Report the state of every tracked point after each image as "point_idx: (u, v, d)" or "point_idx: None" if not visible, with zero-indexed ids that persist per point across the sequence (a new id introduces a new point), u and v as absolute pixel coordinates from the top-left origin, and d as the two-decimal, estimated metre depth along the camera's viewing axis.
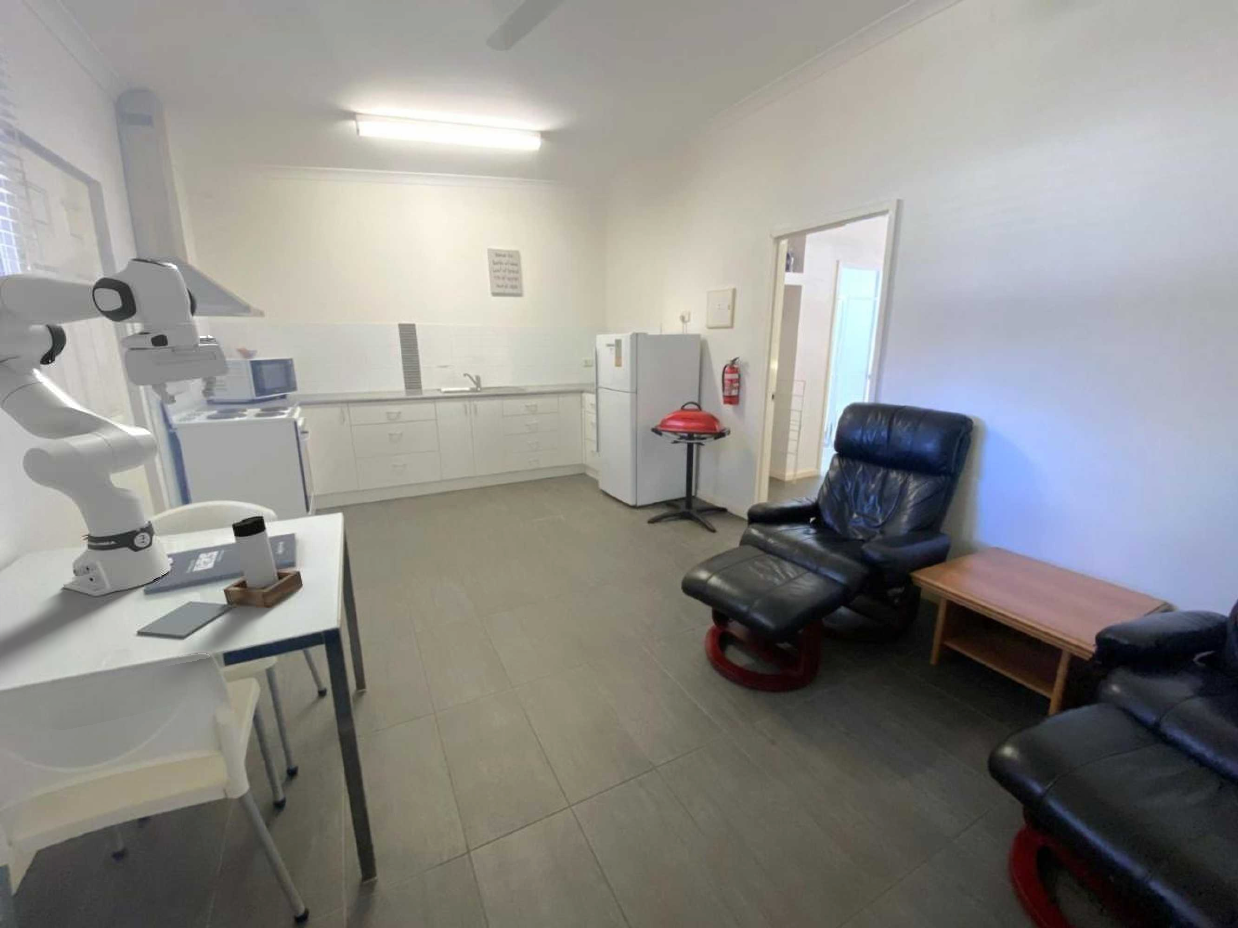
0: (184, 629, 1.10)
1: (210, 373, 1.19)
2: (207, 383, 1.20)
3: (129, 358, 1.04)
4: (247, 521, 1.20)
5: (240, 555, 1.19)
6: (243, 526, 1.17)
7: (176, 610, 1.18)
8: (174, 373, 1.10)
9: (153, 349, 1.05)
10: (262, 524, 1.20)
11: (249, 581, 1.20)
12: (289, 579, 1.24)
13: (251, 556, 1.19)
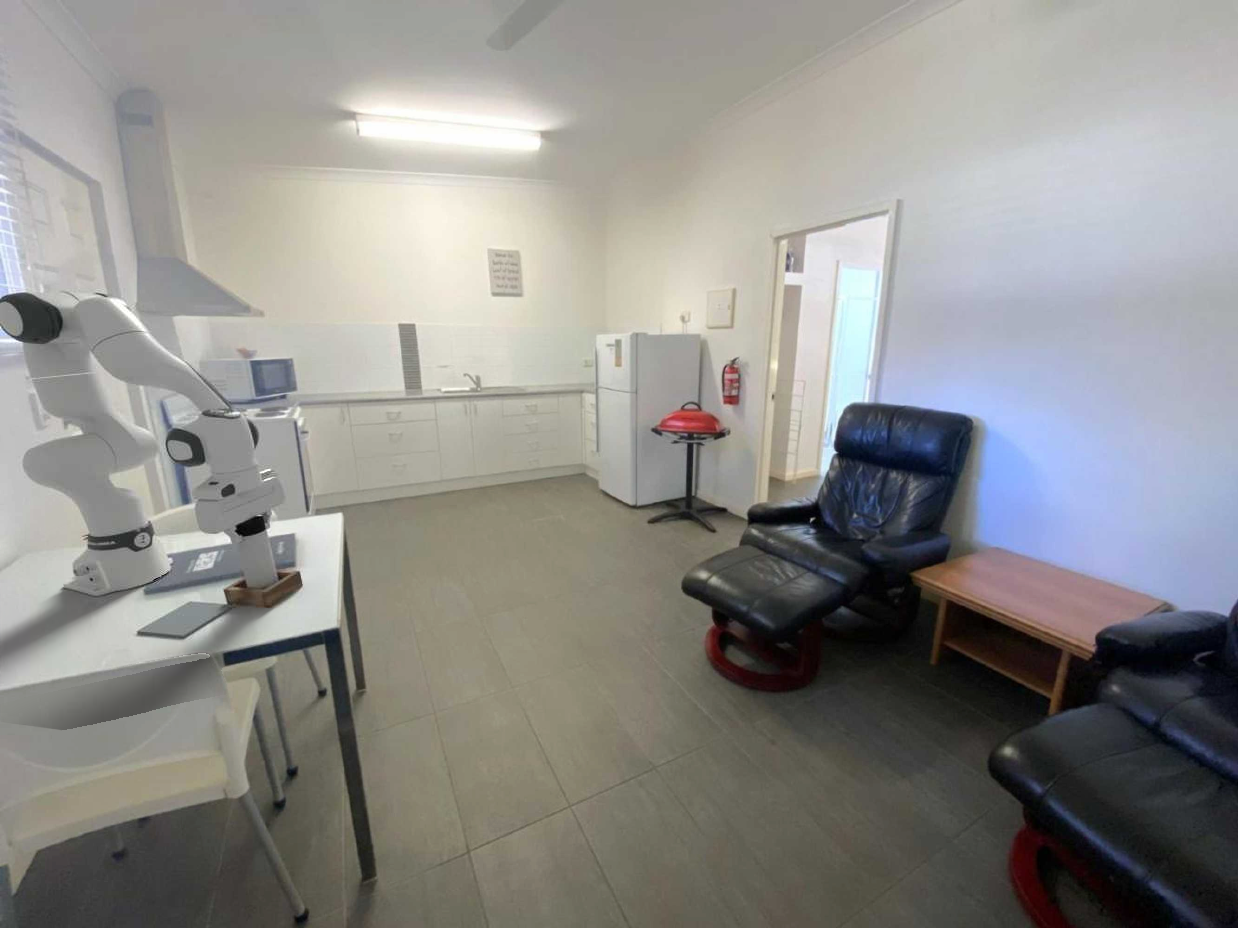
0: (184, 629, 1.10)
1: (270, 506, 1.23)
2: (263, 515, 1.24)
3: (200, 510, 1.09)
4: (247, 521, 1.20)
5: (240, 555, 1.19)
6: (243, 526, 1.17)
7: (176, 610, 1.18)
8: (239, 516, 1.15)
9: (222, 499, 1.10)
10: (262, 524, 1.20)
11: (249, 581, 1.20)
12: (289, 579, 1.24)
13: (251, 556, 1.19)
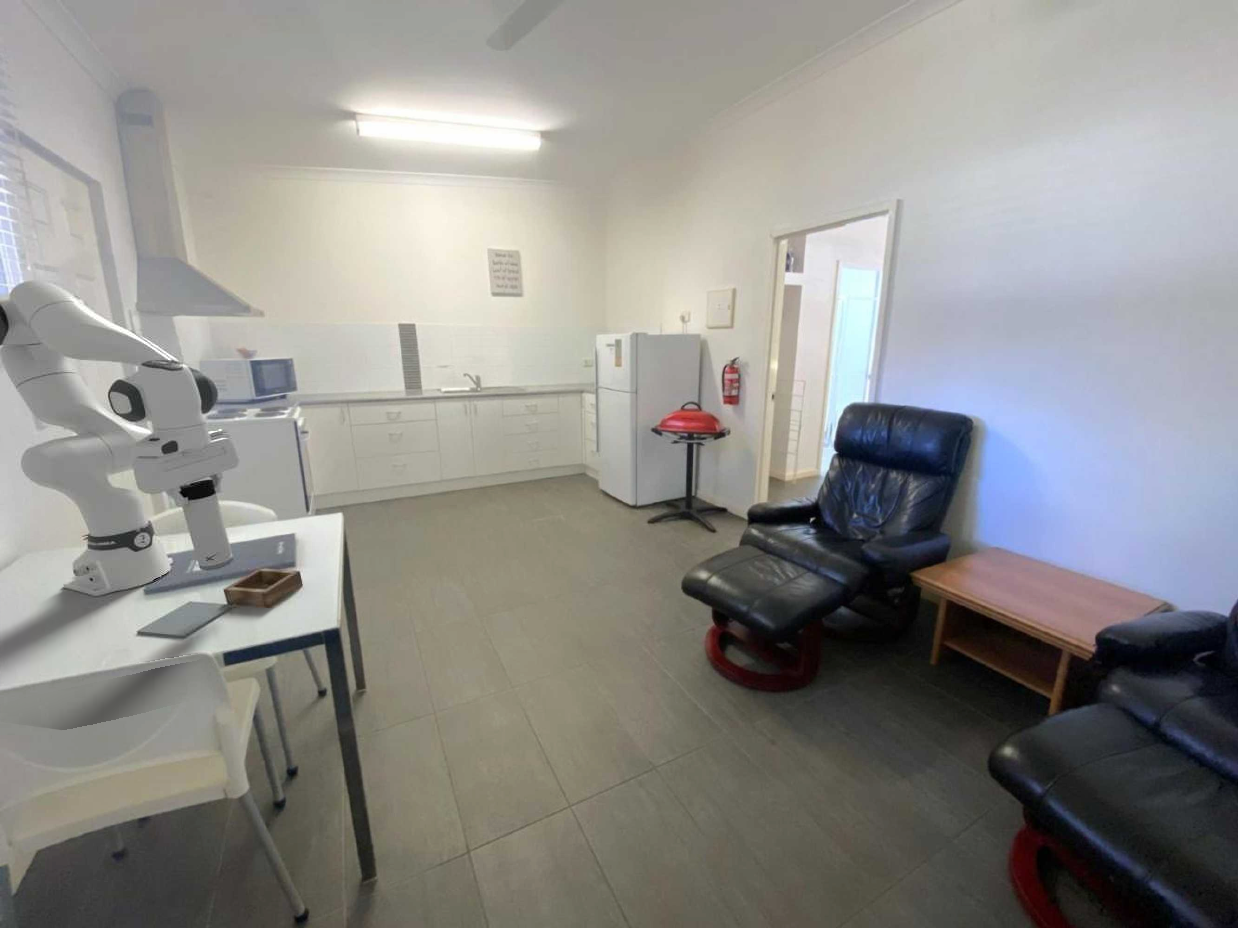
0: (184, 629, 1.10)
1: (220, 469, 1.15)
2: (213, 478, 1.16)
3: (139, 467, 1.01)
4: (195, 484, 1.12)
5: (187, 520, 1.11)
6: (189, 489, 1.09)
7: (176, 610, 1.18)
8: (184, 476, 1.07)
9: (163, 456, 1.02)
10: (211, 488, 1.12)
11: (197, 548, 1.12)
12: (289, 579, 1.24)
13: (198, 522, 1.11)
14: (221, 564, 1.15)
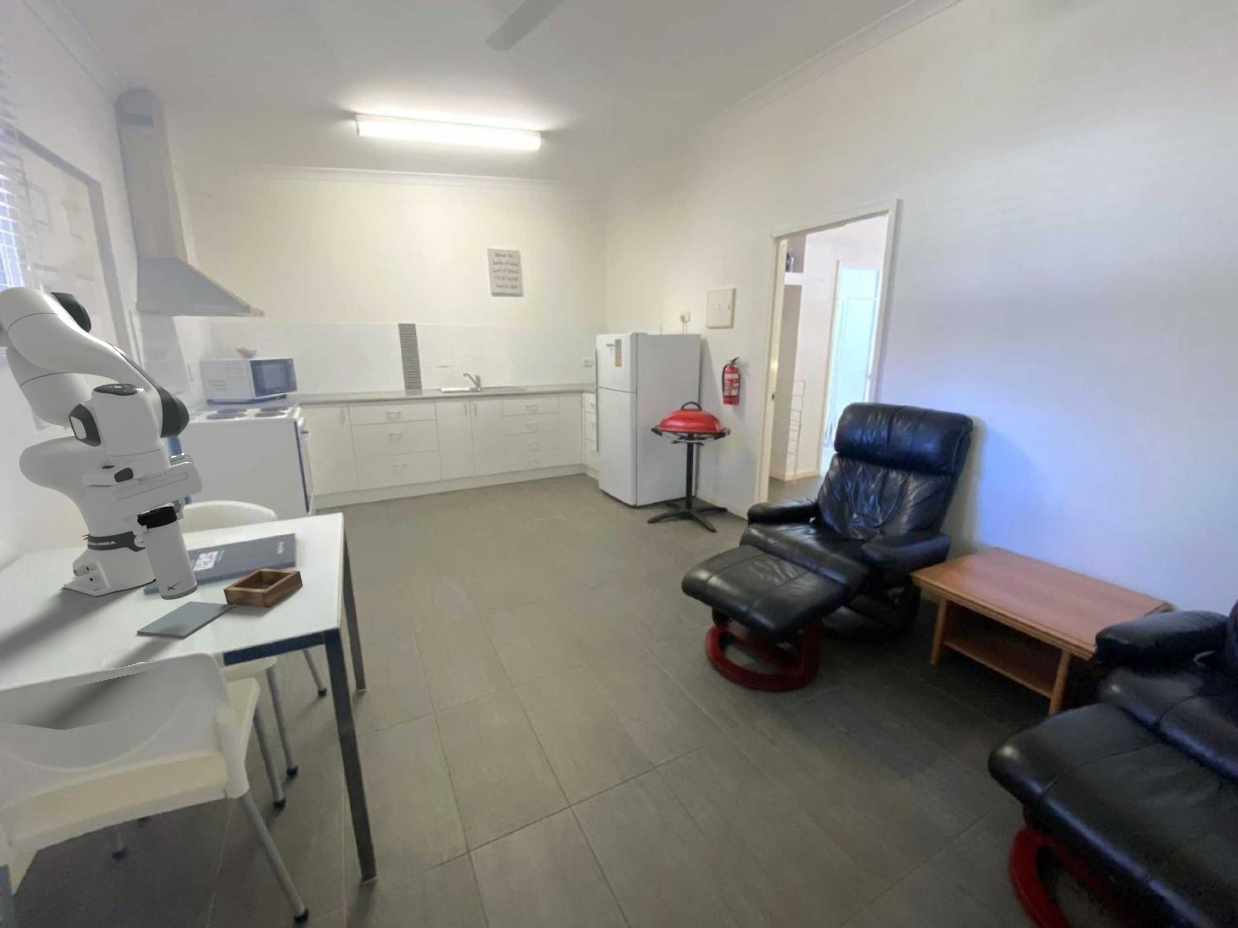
0: (184, 629, 1.10)
1: (182, 494, 1.11)
2: (175, 504, 1.12)
3: (91, 497, 0.97)
4: (155, 511, 1.08)
5: (146, 549, 1.07)
6: (147, 517, 1.05)
7: (176, 610, 1.18)
8: (141, 504, 1.03)
9: (117, 485, 0.98)
10: (171, 515, 1.08)
11: (158, 578, 1.09)
12: (289, 579, 1.24)
13: (158, 550, 1.07)
14: (183, 593, 1.11)
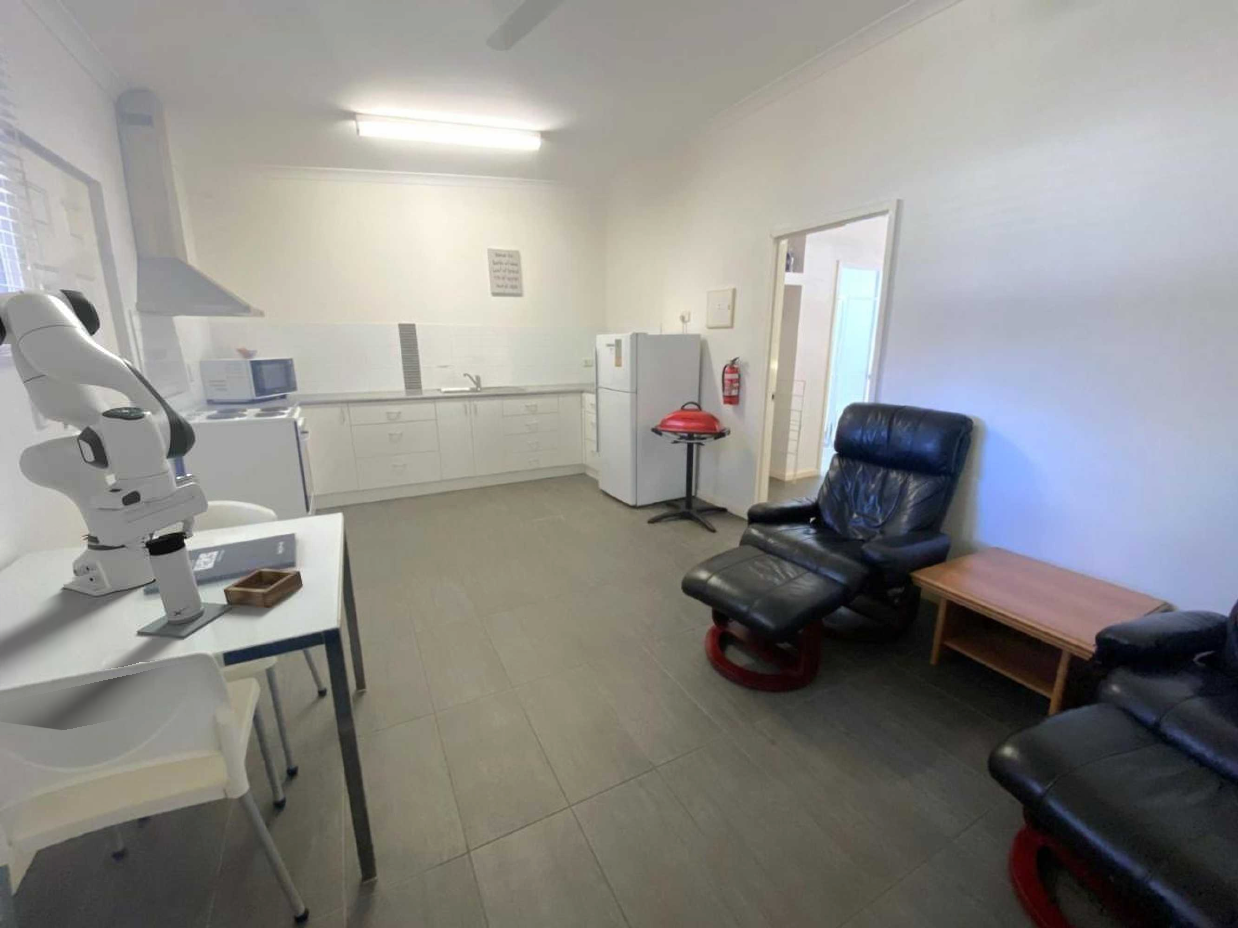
0: (184, 629, 1.10)
1: (187, 515, 1.12)
2: (185, 523, 1.14)
3: (99, 520, 0.98)
4: (163, 538, 1.10)
5: (155, 575, 1.09)
6: (156, 544, 1.07)
7: None
8: (148, 526, 1.04)
9: (124, 508, 0.99)
10: (180, 541, 1.10)
11: (165, 603, 1.10)
12: (289, 579, 1.24)
13: (166, 577, 1.09)
14: (190, 618, 1.13)
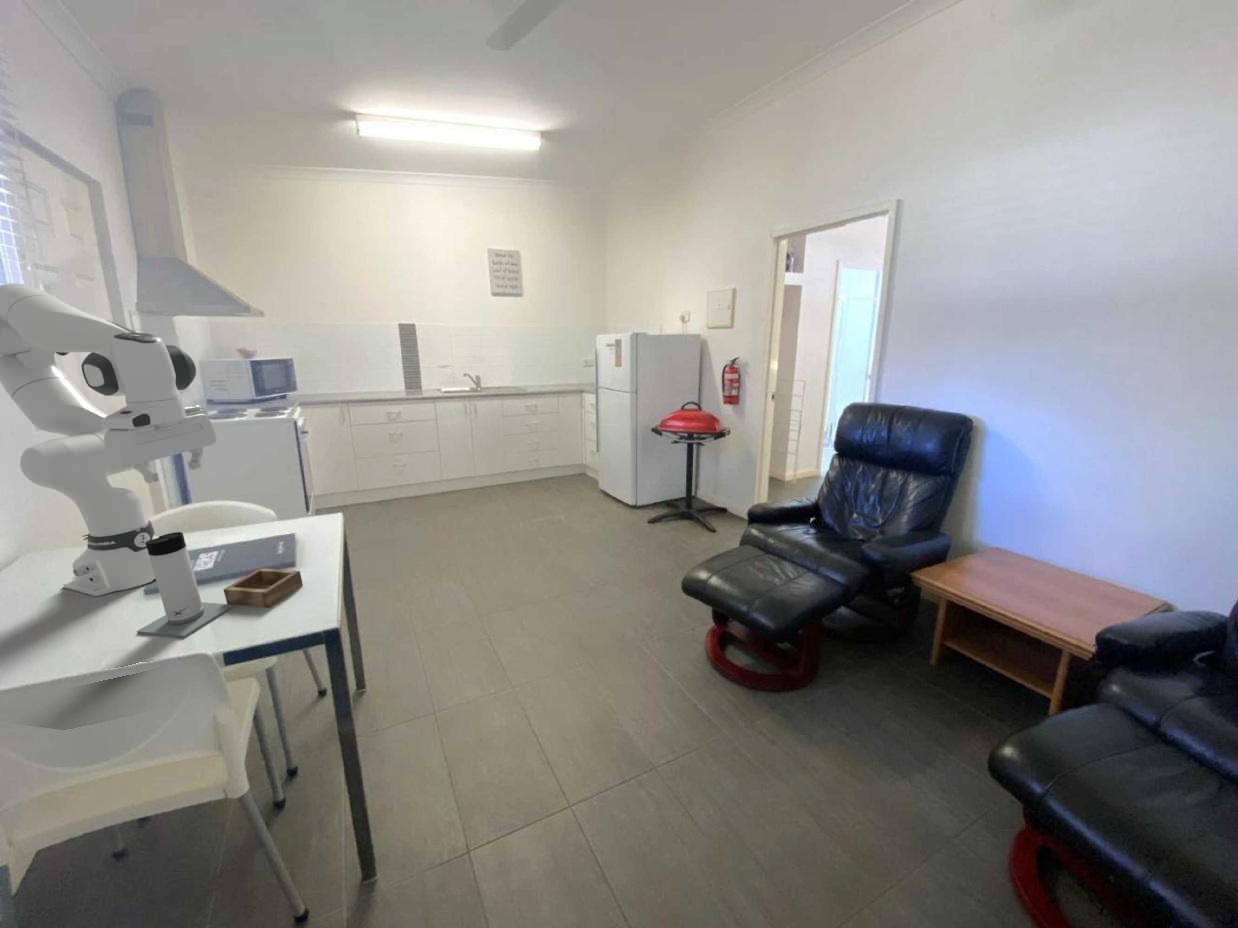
0: (184, 629, 1.10)
1: (196, 445, 1.14)
2: (193, 454, 1.16)
3: (109, 440, 1.00)
4: (164, 538, 1.10)
5: (155, 575, 1.09)
6: (157, 544, 1.07)
7: None
8: (157, 450, 1.06)
9: (134, 429, 1.01)
10: (180, 541, 1.10)
11: (165, 603, 1.10)
12: (289, 579, 1.24)
13: (166, 577, 1.09)
14: (190, 618, 1.13)
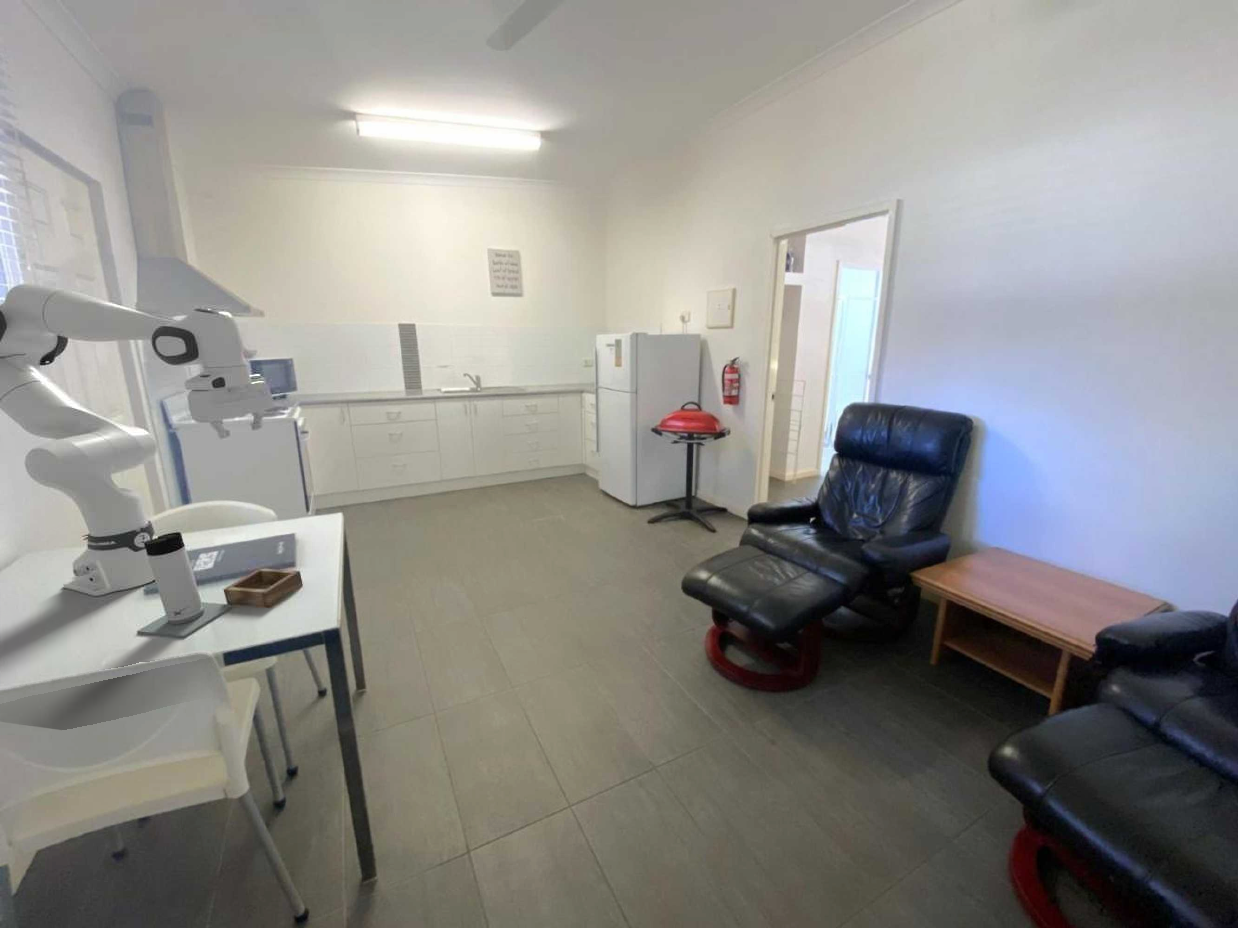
0: (184, 629, 1.10)
1: (258, 408, 1.31)
2: (255, 416, 1.33)
3: (192, 399, 1.16)
4: (162, 538, 1.10)
5: (154, 575, 1.09)
6: (155, 544, 1.07)
7: None
8: (229, 410, 1.23)
9: (213, 390, 1.18)
10: (179, 541, 1.10)
11: (165, 603, 1.10)
12: (289, 579, 1.24)
13: (165, 577, 1.09)
14: (190, 618, 1.13)
